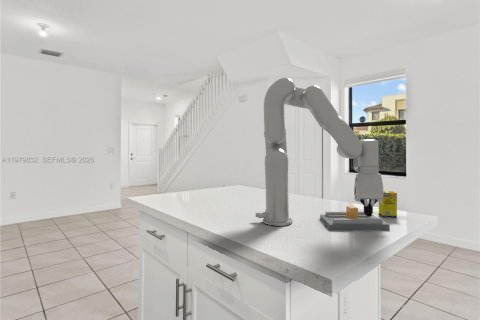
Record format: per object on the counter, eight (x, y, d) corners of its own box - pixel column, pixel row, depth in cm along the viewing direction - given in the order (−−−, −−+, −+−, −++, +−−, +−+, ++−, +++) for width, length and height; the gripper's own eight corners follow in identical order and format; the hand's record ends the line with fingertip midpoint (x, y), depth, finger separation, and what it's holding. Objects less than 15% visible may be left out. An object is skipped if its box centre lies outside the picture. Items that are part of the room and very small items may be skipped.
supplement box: (397, 217, 119) (397, 193, 119) (382, 217, 120) (382, 192, 120) (392, 214, 125) (392, 190, 125) (378, 214, 126) (378, 190, 126)
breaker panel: (329, 229, 104) (329, 223, 104) (320, 219, 120) (320, 213, 120) (389, 229, 102) (389, 222, 102) (371, 218, 118) (371, 212, 118)
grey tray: (334, 223, 105) (334, 219, 105) (325, 215, 118) (325, 211, 118) (382, 223, 104) (382, 219, 104) (368, 215, 117) (368, 211, 117)
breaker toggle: (350, 220, 109) (350, 208, 109) (346, 217, 113) (346, 205, 113) (358, 220, 109) (358, 208, 108) (353, 217, 113) (353, 205, 113)
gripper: (352, 171, 107) (352, 217, 107) (391, 170, 106) (391, 217, 106) (346, 169, 114) (346, 213, 115) (382, 169, 113) (383, 213, 114)
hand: (368, 215), depth 111 cm, fingers closed
